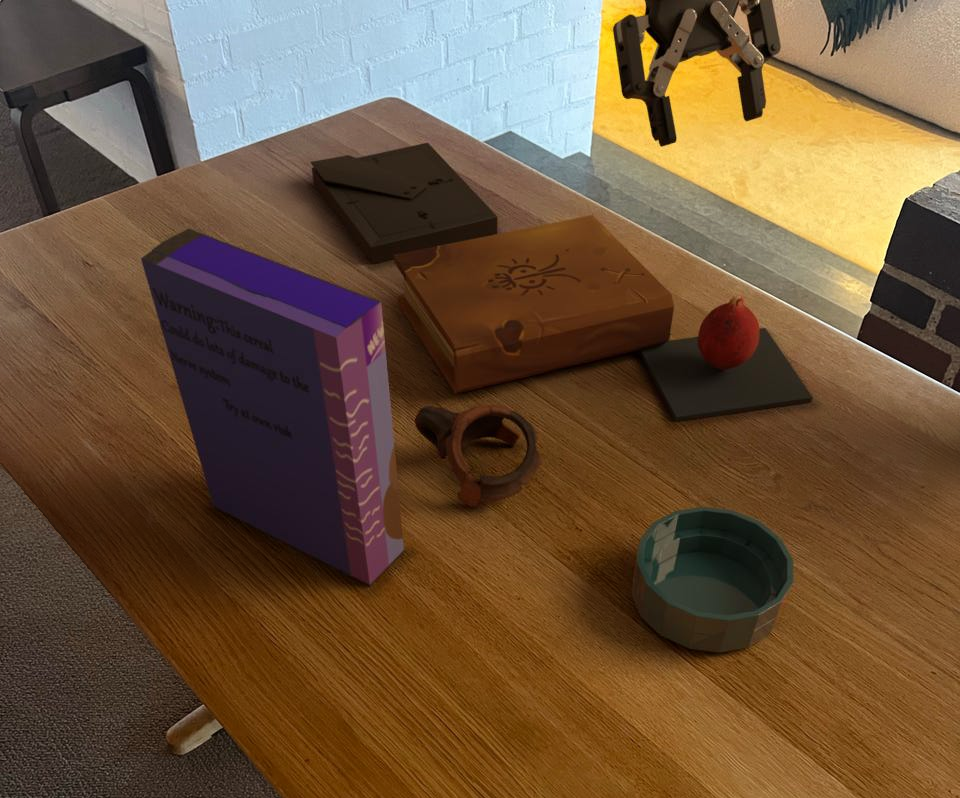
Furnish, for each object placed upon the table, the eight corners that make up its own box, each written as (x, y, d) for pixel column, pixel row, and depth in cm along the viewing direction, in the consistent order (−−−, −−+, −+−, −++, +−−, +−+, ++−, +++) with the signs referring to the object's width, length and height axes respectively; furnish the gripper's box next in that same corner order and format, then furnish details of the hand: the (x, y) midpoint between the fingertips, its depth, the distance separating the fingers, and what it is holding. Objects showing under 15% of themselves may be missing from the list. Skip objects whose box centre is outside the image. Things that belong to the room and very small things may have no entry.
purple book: (404, 551, 84) (380, 299, 66) (370, 586, 82) (335, 334, 63) (249, 476, 90) (187, 225, 72) (213, 507, 88) (139, 255, 69)
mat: (764, 332, 104) (765, 327, 104) (811, 402, 97) (813, 397, 96) (636, 349, 102) (637, 344, 102) (674, 421, 95) (675, 416, 95)
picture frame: (313, 184, 125) (372, 264, 113) (310, 161, 123) (370, 240, 111) (428, 158, 129) (497, 233, 117) (427, 136, 127) (497, 210, 115)
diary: (458, 400, 96) (455, 348, 92) (397, 305, 108) (393, 255, 103) (668, 347, 101) (675, 296, 97) (589, 262, 113) (592, 212, 109)
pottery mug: (548, 447, 93) (561, 415, 85) (510, 537, 92) (521, 513, 84) (430, 398, 93) (432, 361, 85) (390, 487, 92) (389, 458, 84)
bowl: (747, 536, 85) (758, 497, 82) (804, 642, 78) (819, 604, 74) (613, 557, 84) (618, 519, 80) (658, 668, 76) (666, 631, 73)
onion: (737, 393, 97) (754, 321, 90) (682, 375, 99) (696, 303, 92) (759, 362, 100) (777, 291, 94) (706, 345, 102) (720, 274, 96)
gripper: (616, -75, 78) (657, 148, 84) (776, -117, 80) (805, 103, 86) (582, -45, 84) (622, 159, 91) (730, -84, 87) (760, 117, 93)
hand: (711, 131), depth 88 cm, fingers open, 8 cm apart
